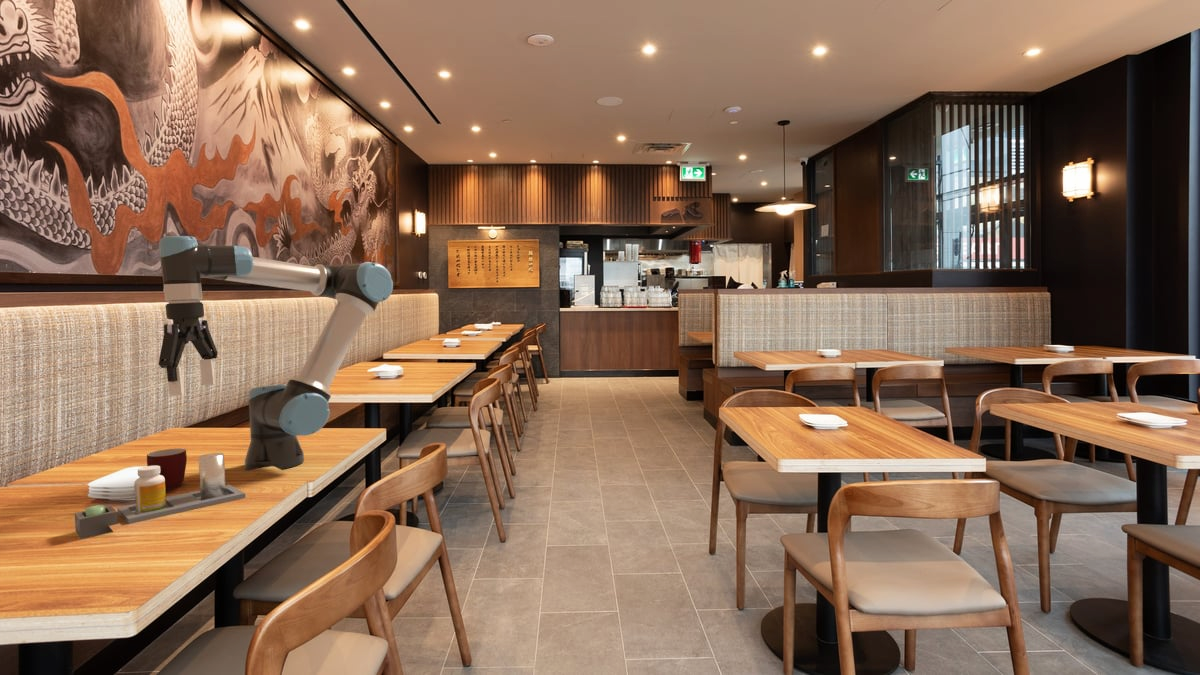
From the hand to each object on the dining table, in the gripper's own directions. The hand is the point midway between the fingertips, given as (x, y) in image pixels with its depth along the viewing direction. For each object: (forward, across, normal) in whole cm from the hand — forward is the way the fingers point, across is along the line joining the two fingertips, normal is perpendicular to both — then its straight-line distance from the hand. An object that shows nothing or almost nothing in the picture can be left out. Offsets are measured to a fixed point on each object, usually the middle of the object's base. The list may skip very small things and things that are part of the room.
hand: (193, 390), depth 150 cm
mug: (+26, -2, -10) cm, 28 cm away
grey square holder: (+25, +23, -9) cm, 35 cm away
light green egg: (+24, +23, -9) cm, 35 cm away
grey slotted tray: (+26, +12, +2) cm, 29 cm away
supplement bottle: (+24, +16, -2) cm, 29 cm away
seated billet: (+24, +8, +7) cm, 27 cm away
